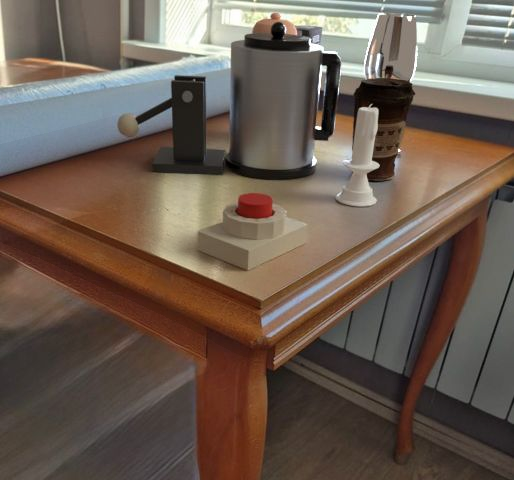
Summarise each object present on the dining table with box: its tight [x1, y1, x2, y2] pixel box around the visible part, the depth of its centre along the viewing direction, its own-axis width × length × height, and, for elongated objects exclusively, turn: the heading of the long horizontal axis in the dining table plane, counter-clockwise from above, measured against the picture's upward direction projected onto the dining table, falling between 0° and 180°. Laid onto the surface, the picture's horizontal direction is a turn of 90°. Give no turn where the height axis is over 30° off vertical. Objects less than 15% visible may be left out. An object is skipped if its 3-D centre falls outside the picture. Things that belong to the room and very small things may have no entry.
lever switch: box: [116, 79, 195, 138], centre depth 86 cm, size 13×3×3 cm, turn 91°
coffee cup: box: [350, 78, 416, 181], centre depth 86 cm, size 9×8×13 cm
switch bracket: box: [151, 74, 226, 176], centre depth 87 cm, size 10×9×12 cm
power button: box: [237, 192, 274, 219], centre depth 63 cm, size 4×4×2 cm
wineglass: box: [363, 12, 418, 155], centre depth 96 cm, size 8×8×20 cm
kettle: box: [225, 22, 342, 181], centre depth 86 cm, size 16×14×19 cm
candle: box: [335, 104, 380, 208], centre depth 77 cm, size 5×5×12 cm
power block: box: [197, 201, 309, 272], centre depth 65 cm, size 10×7×4 cm
